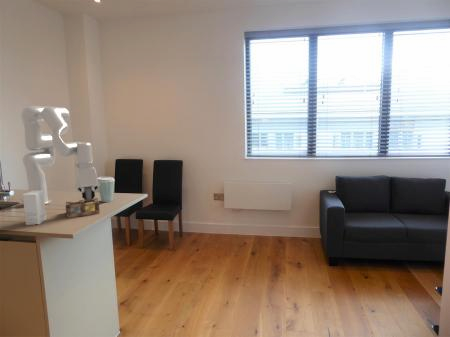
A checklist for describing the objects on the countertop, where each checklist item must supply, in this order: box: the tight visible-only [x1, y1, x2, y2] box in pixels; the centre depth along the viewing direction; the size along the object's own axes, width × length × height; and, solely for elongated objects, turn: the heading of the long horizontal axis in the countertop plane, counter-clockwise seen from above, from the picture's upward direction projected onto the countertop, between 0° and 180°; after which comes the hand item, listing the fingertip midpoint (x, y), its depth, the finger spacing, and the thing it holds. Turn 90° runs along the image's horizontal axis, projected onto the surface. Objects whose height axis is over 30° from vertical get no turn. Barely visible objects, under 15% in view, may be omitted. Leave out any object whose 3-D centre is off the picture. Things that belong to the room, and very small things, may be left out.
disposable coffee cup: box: [97, 176, 116, 203], centre depth 195 cm, size 11×11×15 cm
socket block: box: [65, 197, 101, 219], centre depth 171 cm, size 16×11×6 cm
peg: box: [84, 187, 93, 203], centre depth 172 cm, size 4×4×11 cm
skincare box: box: [22, 190, 47, 226], centre depth 157 cm, size 8×7×16 cm
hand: (88, 198), depth 172 cm, fingers closed on peg, 3 cm apart
